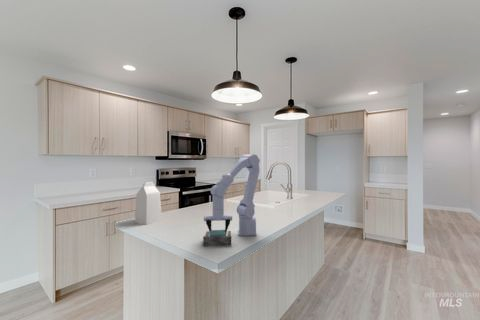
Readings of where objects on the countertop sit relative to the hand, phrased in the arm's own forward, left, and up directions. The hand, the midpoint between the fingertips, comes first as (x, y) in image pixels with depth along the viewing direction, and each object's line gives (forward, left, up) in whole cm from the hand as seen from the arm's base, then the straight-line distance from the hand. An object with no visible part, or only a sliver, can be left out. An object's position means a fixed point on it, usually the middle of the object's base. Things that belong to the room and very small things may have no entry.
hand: (218, 234), depth 115 cm
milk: (+47, -36, -3) cm, 59 cm away
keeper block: (0, +4, -2) cm, 5 cm away
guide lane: (0, 0, -2) cm, 2 cm away
